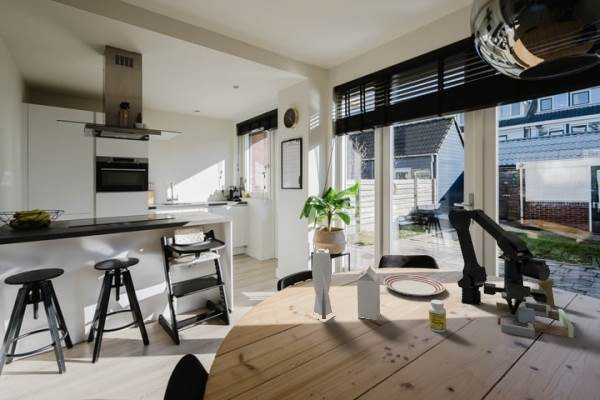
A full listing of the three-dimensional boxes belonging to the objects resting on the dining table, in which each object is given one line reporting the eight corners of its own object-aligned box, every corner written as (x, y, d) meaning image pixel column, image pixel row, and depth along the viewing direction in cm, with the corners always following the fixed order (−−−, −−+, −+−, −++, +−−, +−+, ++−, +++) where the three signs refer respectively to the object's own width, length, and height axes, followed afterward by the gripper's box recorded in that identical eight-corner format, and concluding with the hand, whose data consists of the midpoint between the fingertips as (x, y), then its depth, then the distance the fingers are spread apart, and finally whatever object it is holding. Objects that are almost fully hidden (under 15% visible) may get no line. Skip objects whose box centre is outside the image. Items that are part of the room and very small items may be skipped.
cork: (558, 308, 118) (559, 281, 118) (541, 307, 120) (541, 280, 119) (549, 302, 124) (549, 276, 124) (532, 301, 125) (532, 275, 125)
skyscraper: (307, 317, 118) (305, 246, 117) (320, 310, 124) (319, 242, 122) (324, 323, 112) (322, 248, 111) (337, 316, 118) (336, 245, 117)
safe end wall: (568, 336, 97) (568, 326, 97) (558, 318, 110) (558, 308, 110) (573, 337, 97) (573, 327, 96) (562, 318, 110) (562, 309, 110)
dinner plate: (448, 285, 149) (448, 278, 148) (440, 305, 125) (440, 297, 125) (392, 277, 163) (392, 271, 163) (375, 294, 140) (375, 286, 140)
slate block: (519, 321, 108) (519, 311, 108) (518, 317, 112) (518, 306, 112) (535, 324, 106) (535, 313, 106) (533, 319, 110) (533, 308, 110)
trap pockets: (501, 331, 102) (501, 324, 102) (497, 303, 125) (498, 297, 125) (565, 343, 93) (565, 335, 93) (549, 311, 116) (549, 305, 116)
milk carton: (380, 313, 118) (379, 265, 117) (376, 321, 112) (376, 270, 111) (362, 311, 121) (361, 264, 120) (357, 318, 115) (356, 269, 114)
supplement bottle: (444, 326, 107) (444, 299, 106) (447, 333, 102) (447, 305, 101) (428, 324, 108) (428, 298, 108) (429, 331, 103) (429, 304, 103)
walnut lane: (497, 324, 107) (497, 317, 107) (496, 308, 120) (496, 302, 120) (568, 336, 97) (568, 329, 97) (558, 318, 110) (558, 311, 110)
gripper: (483, 275, 108) (483, 318, 109) (550, 283, 98) (549, 330, 99) (483, 267, 118) (483, 307, 118) (544, 274, 108) (544, 317, 109)
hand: (513, 315), depth 111 cm, fingers closed
